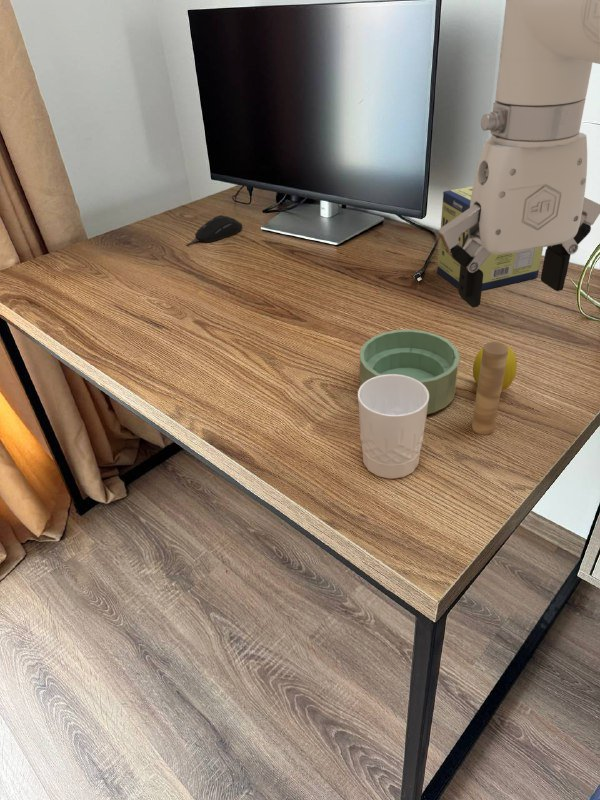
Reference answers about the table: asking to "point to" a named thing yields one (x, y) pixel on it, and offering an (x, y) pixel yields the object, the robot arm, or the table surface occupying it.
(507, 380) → the lemon
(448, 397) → the bowl
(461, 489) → the table surface
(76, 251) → the table surface
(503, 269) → the protein box
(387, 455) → the white cup
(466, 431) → the table surface
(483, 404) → the stick
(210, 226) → the gaming mouse
